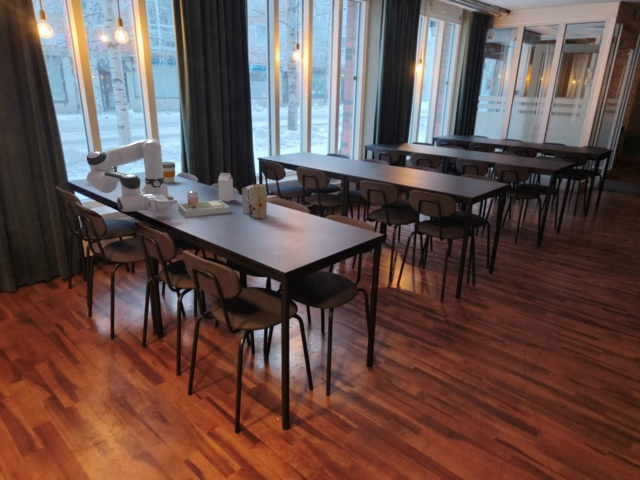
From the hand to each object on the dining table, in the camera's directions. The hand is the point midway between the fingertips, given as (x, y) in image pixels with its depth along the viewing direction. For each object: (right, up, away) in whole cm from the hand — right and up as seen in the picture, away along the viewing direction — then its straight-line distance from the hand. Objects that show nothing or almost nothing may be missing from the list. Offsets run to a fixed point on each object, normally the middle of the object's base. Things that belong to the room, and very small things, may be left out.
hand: (175, 199), depth 243 cm
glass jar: (+8, -6, +8) cm, 13 cm away
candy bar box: (+41, -7, +14) cm, 44 cm away
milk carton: (+21, +2, +40) cm, 45 cm away
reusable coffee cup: (-37, +22, +91) cm, 100 cm away
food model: (+48, -10, +5) cm, 49 cm away
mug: (-82, +21, +83) cm, 118 cm away
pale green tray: (+13, -7, +11) cm, 19 cm away
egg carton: (+20, -5, +15) cm, 25 cm away
